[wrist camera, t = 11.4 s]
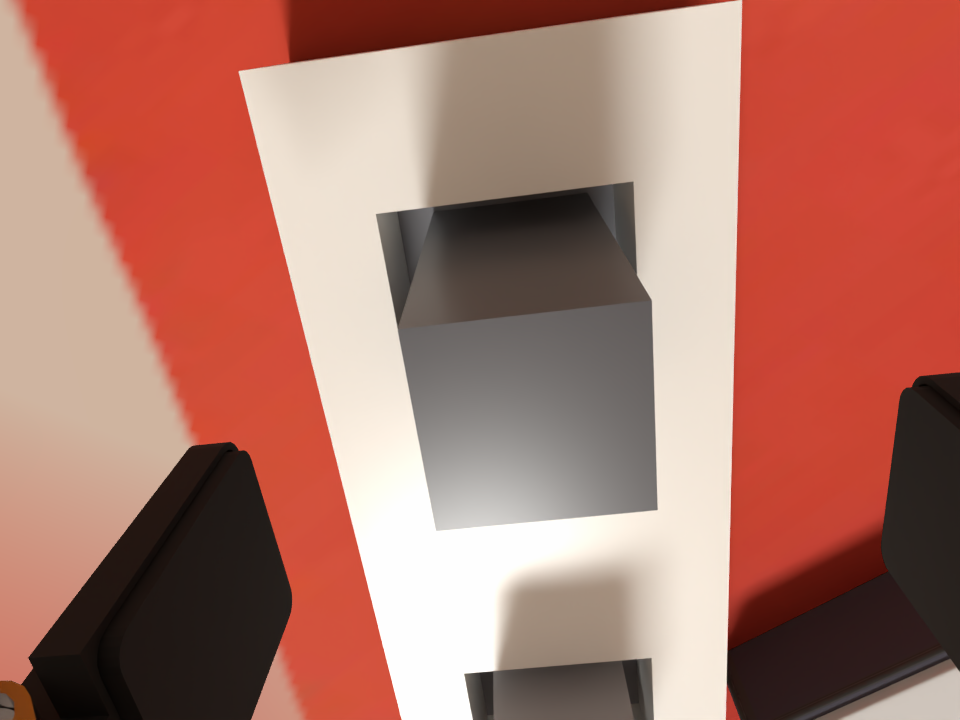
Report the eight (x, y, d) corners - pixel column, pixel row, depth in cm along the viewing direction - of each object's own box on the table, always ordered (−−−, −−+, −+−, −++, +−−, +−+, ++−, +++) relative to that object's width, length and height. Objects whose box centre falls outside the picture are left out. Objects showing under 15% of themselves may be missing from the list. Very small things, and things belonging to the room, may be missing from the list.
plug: (587, 192, 18) (651, 299, 11) (596, 334, 20) (657, 510, 13) (433, 211, 19) (397, 329, 11) (455, 350, 20) (435, 531, 13)
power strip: (689, 5, 17) (747, -1, 13) (692, 733, 28) (725, 846, 24) (289, 63, 18) (233, 71, 14) (443, 752, 29) (435, 866, 25)
